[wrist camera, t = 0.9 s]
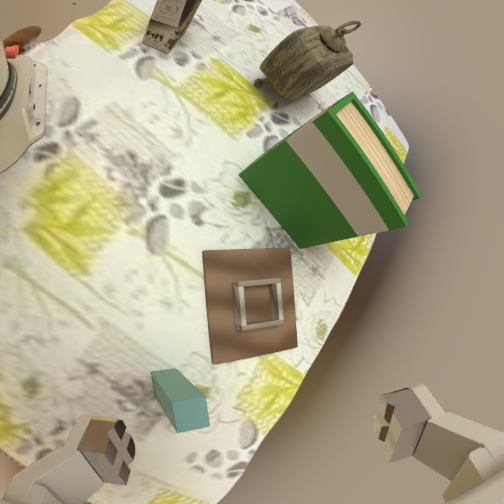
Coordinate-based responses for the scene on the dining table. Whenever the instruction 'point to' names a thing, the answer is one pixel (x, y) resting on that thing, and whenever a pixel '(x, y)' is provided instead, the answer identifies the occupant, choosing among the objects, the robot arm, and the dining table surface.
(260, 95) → the dining table surface
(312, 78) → the tabletop clock
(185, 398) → the teal post
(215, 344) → the socket board
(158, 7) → the coffee box
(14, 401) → the dining table surface
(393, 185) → the hardback book
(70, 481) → the robot arm
